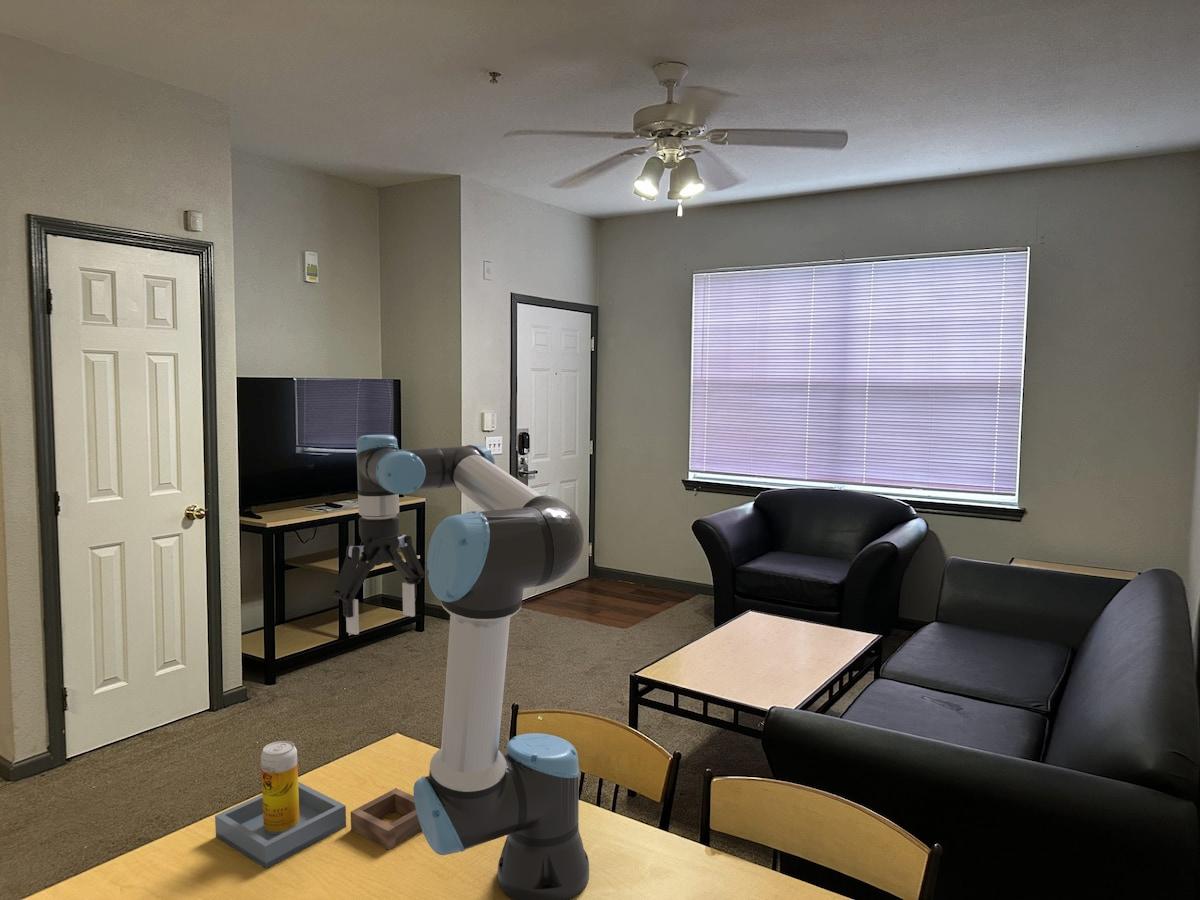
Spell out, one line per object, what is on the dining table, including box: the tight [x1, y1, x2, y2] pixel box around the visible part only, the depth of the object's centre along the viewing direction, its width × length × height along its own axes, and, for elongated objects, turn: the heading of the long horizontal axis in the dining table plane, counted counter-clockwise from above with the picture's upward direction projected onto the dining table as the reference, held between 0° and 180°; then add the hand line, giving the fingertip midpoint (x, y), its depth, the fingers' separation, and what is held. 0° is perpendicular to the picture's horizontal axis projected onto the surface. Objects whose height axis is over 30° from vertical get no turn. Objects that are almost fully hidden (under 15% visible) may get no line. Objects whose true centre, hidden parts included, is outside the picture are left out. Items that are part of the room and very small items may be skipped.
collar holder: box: [350, 787, 422, 851], centre depth 150 cm, size 10×10×4 cm
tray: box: [214, 781, 347, 870], centre depth 148 cm, size 16×16×4 cm
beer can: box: [260, 740, 299, 834], centre depth 147 cm, size 6×6×15 cm
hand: (381, 624), depth 158 cm, fingers open, 13 cm apart
